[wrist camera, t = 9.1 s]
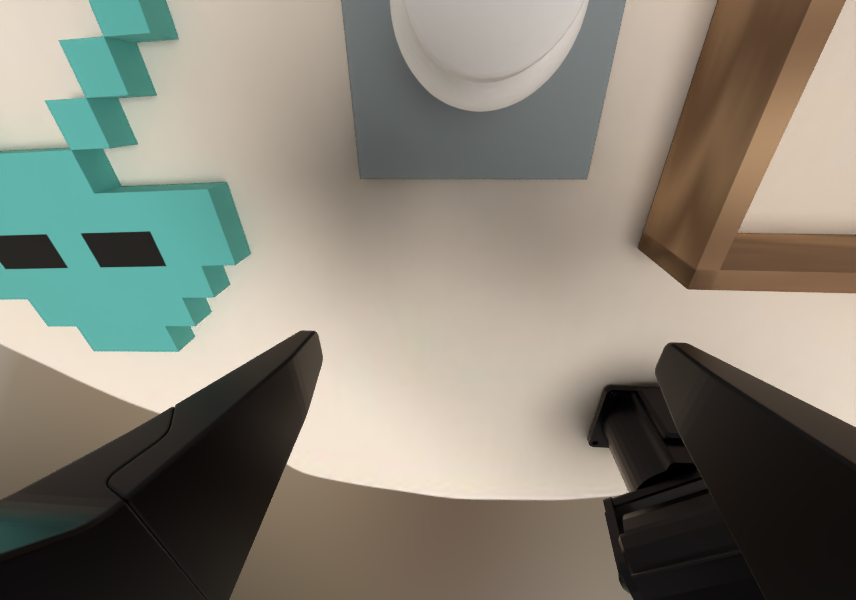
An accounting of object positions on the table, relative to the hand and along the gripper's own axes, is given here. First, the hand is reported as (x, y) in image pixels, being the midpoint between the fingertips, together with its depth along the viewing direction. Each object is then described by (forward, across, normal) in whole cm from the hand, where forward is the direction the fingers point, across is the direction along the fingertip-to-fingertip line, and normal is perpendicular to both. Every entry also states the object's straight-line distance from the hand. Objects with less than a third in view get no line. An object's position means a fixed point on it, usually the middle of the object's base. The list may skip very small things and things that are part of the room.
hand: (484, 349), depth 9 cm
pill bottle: (+12, 0, -8) cm, 15 cm away
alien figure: (+13, +24, 0) cm, 27 cm away
